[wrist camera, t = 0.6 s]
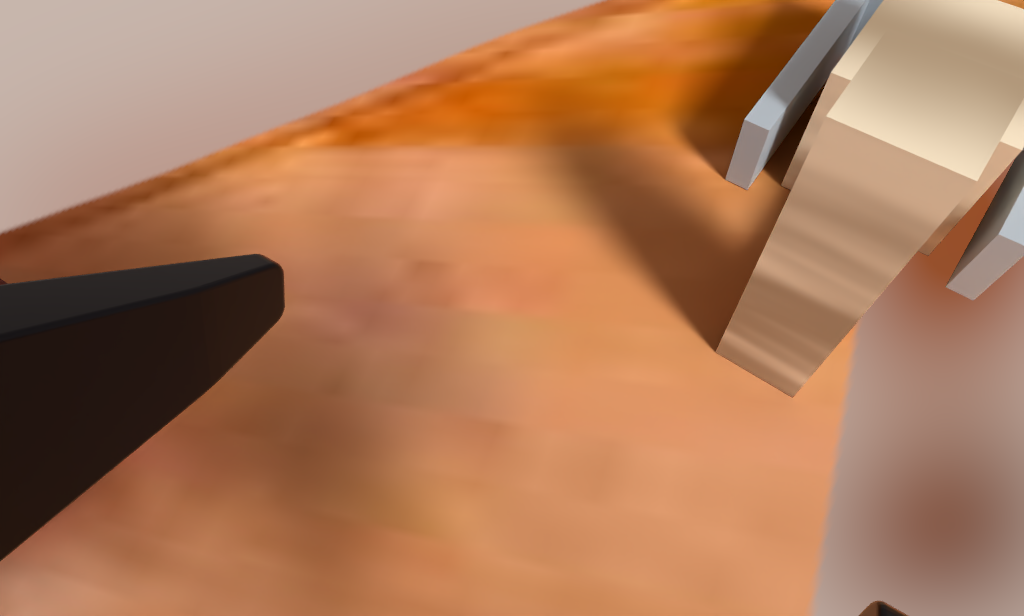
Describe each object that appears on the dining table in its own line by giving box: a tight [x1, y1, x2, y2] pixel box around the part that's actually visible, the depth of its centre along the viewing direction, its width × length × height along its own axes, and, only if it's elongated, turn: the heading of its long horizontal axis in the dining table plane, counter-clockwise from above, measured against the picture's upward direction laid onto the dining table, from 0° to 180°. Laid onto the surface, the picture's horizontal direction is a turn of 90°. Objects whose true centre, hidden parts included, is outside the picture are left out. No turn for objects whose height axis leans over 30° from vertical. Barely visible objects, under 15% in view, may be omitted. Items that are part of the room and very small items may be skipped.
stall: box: [726, 0, 1024, 300], centre depth 26 cm, size 10×10×4 cm
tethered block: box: [716, 0, 1024, 397], centre depth 21 cm, size 14×6×12 cm, turn 143°
